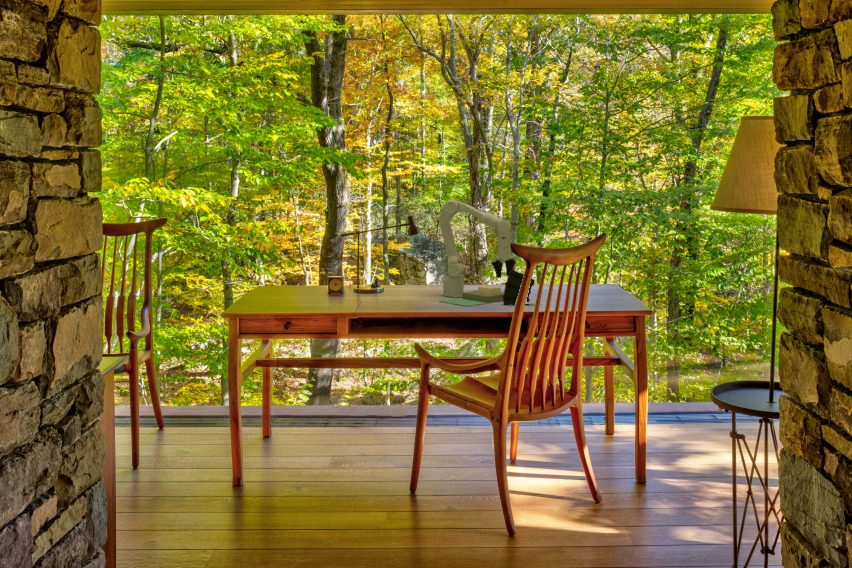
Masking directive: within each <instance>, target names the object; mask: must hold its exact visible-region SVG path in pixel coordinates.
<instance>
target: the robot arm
mask: <svg viewBox="0 0 852 568" xmlns="http://www.w3.org/2000/svg"><path fill="white" fill-rule="evenodd" d="M458 213H460V214H461V213H462V214H463V213H466V214H468V215H470V216H472V217H475V218H477V219H478V220H479V219H480V220H481V222H482V224H483V225H486V226H487V227H489V228H491V229H494V230H497V232H498V233H497V235H498V236H497V256H494V257H490V263H491V265H492V266H493V269H494V271H495V275H496V278H499V279H500V278H502V271H503V265H504V264H505V273H506V276H507V277H509V273H510V271H511V270H512V269H513V270H514V267H515V265H516V264H517V259H518V256H517V255H511V228H512V224H511V222H510V221H509V220H507V219H504V217H503V216H501V217H500V216H497V215H496V214H495V213H494V212H493V211H492V212H491V211H489V212H488V211H487V212H483V211H481V210H479V209H477V208H475V207H473V206H472V205H469V204H468V203H465V202H462V201H458V200H457V199H450V200H447V201H446V202H445V203H444V204H443V206H442V208H441V212H440V215H439V217H438V223H439V227H440V232H441V236H442V241H443V243H444V248H445V249H444V250H445V251H446V256H447V265H448V266H447V273H448V275H447V276H446V277H444V279H443V286H442V289H443V291H442V292H443V293H442V294H441V296H442V297H443V296H444V297H450V298H460V297H461V298H463V293H464V292H465V287H464V286H465V285H464V283H465V281H464V279H465V277H464V274H463V273H464V270H465V265H464V263H462V262H461V259H460V256H459V253H458V249H457V246H456V242H455V238H454V237H455V236H454V233H453V228H452V225H451V221H452V220H453V218H454V216H455V215H457V214H458ZM509 244H510V245H509Z"/></svg>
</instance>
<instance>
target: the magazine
mask: <svg viewBox="0 0 852 568" xmlns="http://www.w3.org/2000/svg"><path fill="white" fill-rule="evenodd" d="M524 275H525V274H523V273H520V272H519V271H517V270H514V268H513V269H512V270H511V271H510V273H509V276H507V280H506V281H505V283H504V285H505V287H504V292H503V293H504V295H503V299H504V301H502V303H503V305H504V306H516V305H515V302H516V299H517V296H518V293H519V289H520V285H521V283H522V279H523V276H524ZM535 282H536V280H535V279H534V278H531V283H530V288H529V293H528V297H527V302H529V303H530V300H531V299H530V295H531V293H532V291H531V290H532V287H534V286H535ZM510 304H512V305H510Z"/></svg>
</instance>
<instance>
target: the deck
mask: <svg viewBox="0 0 852 568" xmlns="http://www.w3.org/2000/svg"><path fill="white" fill-rule="evenodd" d="M503 295H504V292H503V291H502V292H501V293H497V294H486V293H480V292H478V290H472V291H464V293H463V297H462V299H466V300H473V301H479V302H485V303H487V304H493V303H492V302H494V303H498V302H499V303H501V302H504V299H503ZM500 301H501V302H500Z"/></svg>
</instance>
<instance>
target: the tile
mask: <svg viewBox="0 0 852 568" xmlns="http://www.w3.org/2000/svg"><path fill="white" fill-rule="evenodd" d="M501 289H502V287H501V286H493V285H483V286H478V290H477V291H478V292H480V293H486V294H497V293H501Z"/></svg>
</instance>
